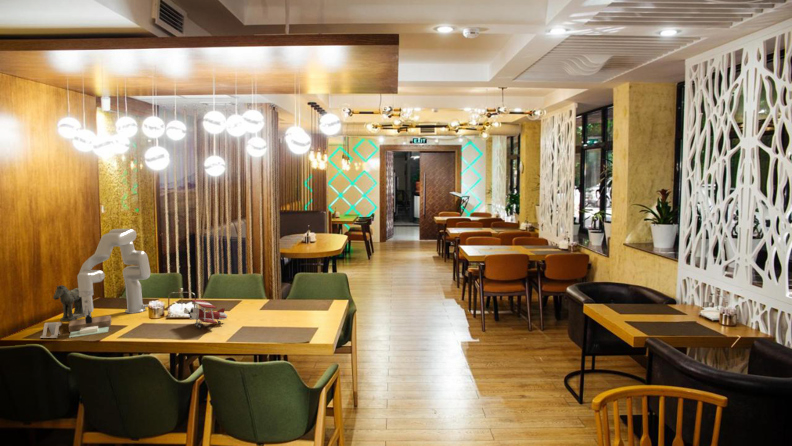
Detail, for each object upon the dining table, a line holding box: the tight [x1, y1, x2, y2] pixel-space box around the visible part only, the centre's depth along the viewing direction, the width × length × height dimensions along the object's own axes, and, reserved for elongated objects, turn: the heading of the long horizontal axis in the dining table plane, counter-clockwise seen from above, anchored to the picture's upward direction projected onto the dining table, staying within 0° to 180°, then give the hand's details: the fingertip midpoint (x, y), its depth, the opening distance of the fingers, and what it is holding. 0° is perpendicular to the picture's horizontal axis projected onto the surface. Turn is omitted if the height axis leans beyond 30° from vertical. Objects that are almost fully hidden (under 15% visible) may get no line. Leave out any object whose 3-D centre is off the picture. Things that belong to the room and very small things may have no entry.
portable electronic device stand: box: [39, 321, 62, 339], centre depth 307 cm, size 9×8×8 cm
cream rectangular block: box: [80, 326, 98, 334], centre depth 315 cm, size 9×6×2 cm, turn 116°
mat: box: [68, 327, 110, 339], centre depth 314 cm, size 20×12×1 cm, turn 117°
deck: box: [68, 315, 112, 333], centre depth 326 cm, size 22×14×4 cm, turn 117°
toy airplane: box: [183, 299, 228, 329], centre depth 320 cm, size 27×23×15 cm
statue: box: [52, 284, 85, 322], centre depth 343 cm, size 25×10×25 cm, turn 169°
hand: (88, 322), depth 316 cm, fingers closed
